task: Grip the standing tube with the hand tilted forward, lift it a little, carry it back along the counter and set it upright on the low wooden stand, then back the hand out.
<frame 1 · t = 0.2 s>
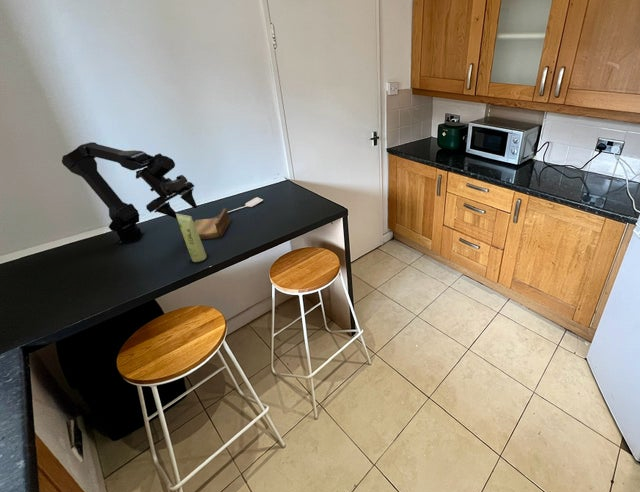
hand: (188, 213, 124), 15 cm above the countertop, tool tilted 35°, fingers open, 9 cm apart
spatula: (234, 211, 157), on the countertop
tube: (199, 259, 121), on the countertop
wooden stand: (209, 230, 140), on the countertop
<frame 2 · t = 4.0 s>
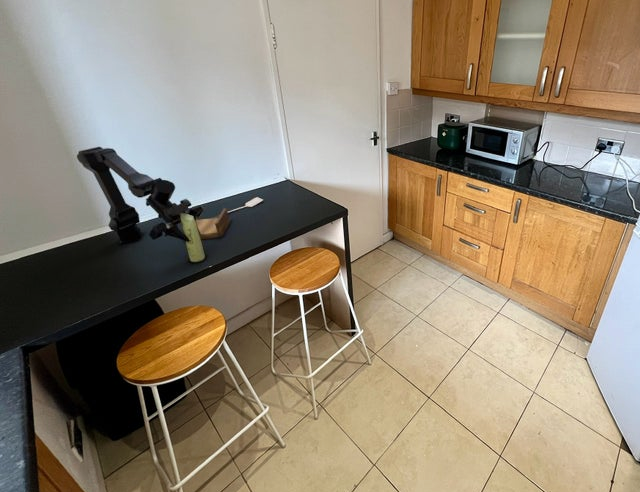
hand: (194, 238, 117), 10 cm above the countertop, tool tilted 45°, fingers closed on tube, 4 cm apart
tube: (197, 259, 121), on the countertop, touching gripper
everything else where it was.
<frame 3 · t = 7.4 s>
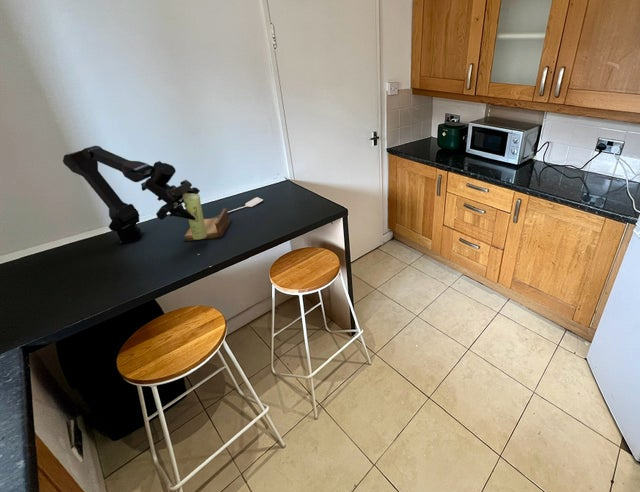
hand: (198, 216, 124), 13 cm above the countertop, tool tilted 45°, fingers closed on tube, 4 cm apart
tube: (199, 237, 128), point 4 cm above the countertop, touching gripper
everything else where it was.
when the fingers open (12 cm above the countertop, at t = 10.8 s): tube stays where it is, resting on wooden stand.
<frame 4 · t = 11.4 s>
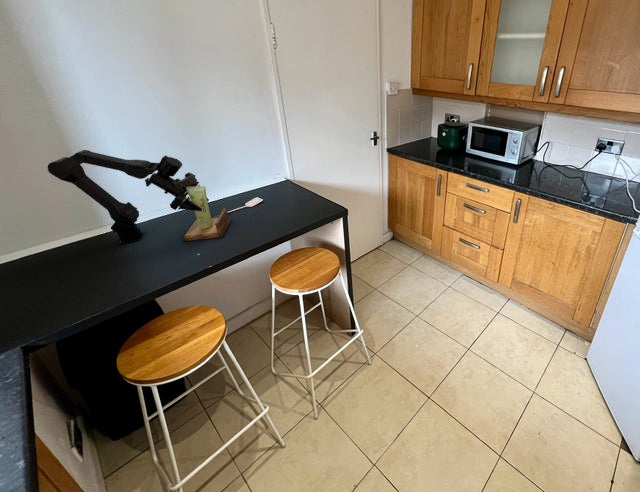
hand: (205, 205, 135), 13 cm above the countertop, tool tilted 45°, fingers open, 9 cm apart
tube: (205, 226, 138), point 3 cm above the countertop, touching wooden stand
everything else where it was.
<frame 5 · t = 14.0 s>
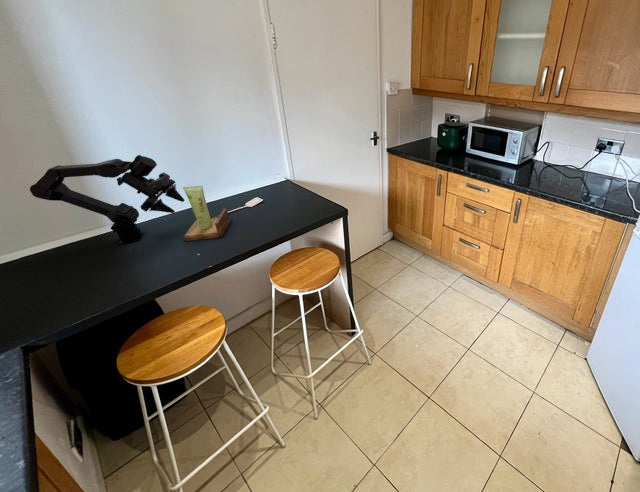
hand: (179, 206, 133), 13 cm above the countertop, tool tilted 40°, fingers open, 9 cm apart
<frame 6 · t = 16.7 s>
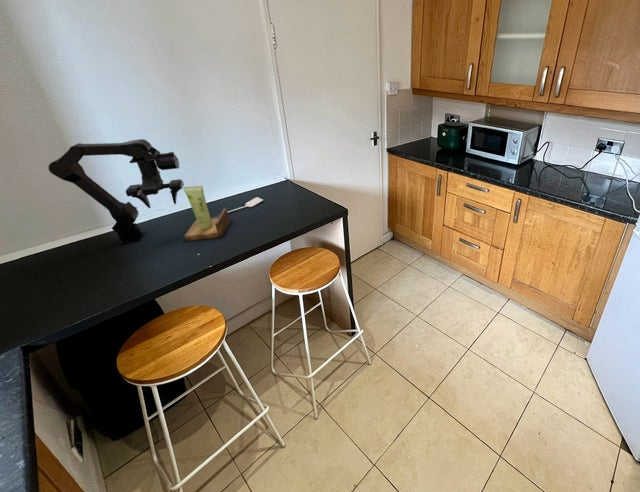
hand: (162, 205, 133), 13 cm above the countertop, tool pointing down, fingers open, 9 cm apart
nothing on the countertop moved.
at the end: tube inside the target area on the wooden stand (0.9 cm from its centre), point 2.3 cm above the wooden stand's base; tube tilted 0°; the gripper is holding nothing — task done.
